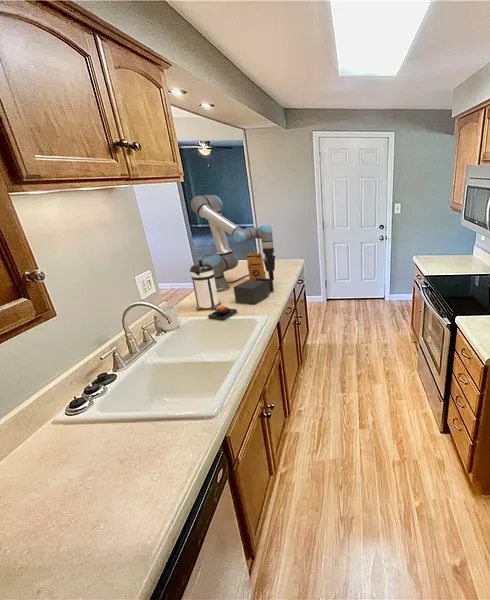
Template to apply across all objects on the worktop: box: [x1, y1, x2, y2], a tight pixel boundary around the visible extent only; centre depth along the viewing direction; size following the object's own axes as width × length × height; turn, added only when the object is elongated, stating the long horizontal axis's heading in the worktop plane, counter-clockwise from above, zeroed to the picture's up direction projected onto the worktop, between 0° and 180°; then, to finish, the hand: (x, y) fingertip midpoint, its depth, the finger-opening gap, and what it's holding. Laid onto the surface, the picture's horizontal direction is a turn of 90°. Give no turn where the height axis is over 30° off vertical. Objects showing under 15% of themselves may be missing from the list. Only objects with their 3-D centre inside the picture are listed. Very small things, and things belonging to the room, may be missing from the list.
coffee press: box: [189, 259, 221, 312], centre depth 199 cm, size 17×16×30 cm
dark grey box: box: [233, 279, 269, 306], centre depth 214 cm, size 16×14×11 cm
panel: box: [207, 306, 238, 321], centre depth 190 cm, size 12×10×4 cm
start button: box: [217, 305, 227, 311], centre depth 190 cm, size 4×4×2 cm
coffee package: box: [246, 252, 267, 280], centre depth 252 cm, size 10×12×22 cm
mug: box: [155, 305, 180, 332], centre depth 175 cm, size 12×9×11 cm
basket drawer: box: [255, 278, 274, 294], centre depth 225 cm, size 19×13×9 cm, turn 165°
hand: (271, 279), depth 237 cm, fingers closed
